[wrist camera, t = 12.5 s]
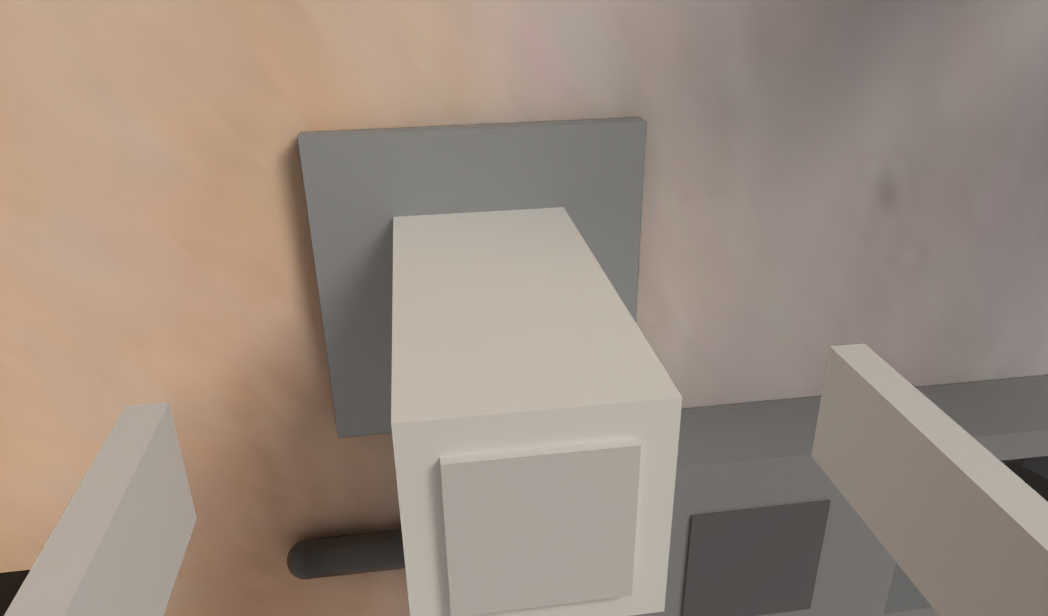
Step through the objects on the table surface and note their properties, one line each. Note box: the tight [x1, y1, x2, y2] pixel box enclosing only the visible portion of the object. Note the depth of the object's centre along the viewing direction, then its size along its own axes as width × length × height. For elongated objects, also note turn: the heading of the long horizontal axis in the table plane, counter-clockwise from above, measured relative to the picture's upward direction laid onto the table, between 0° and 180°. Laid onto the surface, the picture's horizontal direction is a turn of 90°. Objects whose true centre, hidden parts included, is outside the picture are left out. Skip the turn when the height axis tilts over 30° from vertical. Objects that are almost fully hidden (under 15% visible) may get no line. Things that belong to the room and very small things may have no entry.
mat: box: [298, 117, 646, 438], centre depth 23 cm, size 9×9×1 cm
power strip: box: [287, 375, 1048, 616], centre depth 26 cm, size 31×8×4 cm, turn 91°
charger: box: [391, 207, 682, 616], centre depth 18 cm, size 5×5×10 cm
